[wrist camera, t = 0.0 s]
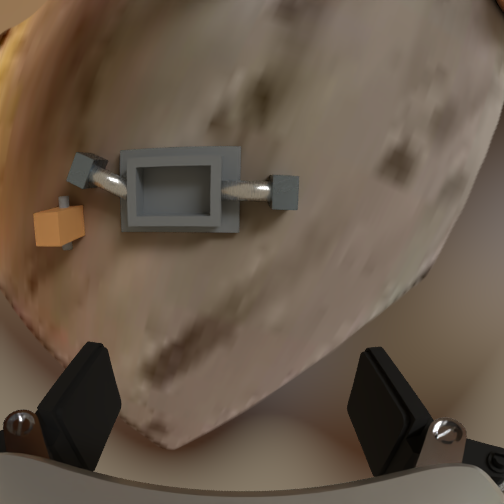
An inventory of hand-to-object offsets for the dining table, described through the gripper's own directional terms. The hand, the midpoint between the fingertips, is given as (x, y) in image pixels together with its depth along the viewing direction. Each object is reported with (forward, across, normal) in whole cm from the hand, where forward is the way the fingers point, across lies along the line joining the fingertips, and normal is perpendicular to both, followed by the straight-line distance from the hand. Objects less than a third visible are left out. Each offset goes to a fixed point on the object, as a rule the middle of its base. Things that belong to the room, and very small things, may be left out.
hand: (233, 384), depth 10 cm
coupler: (+31, +25, -1) cm, 40 cm away
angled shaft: (+31, +17, -7) cm, 36 cm away
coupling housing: (+31, +8, -5) cm, 33 cm away
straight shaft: (+31, -2, -5) cm, 32 cm away
